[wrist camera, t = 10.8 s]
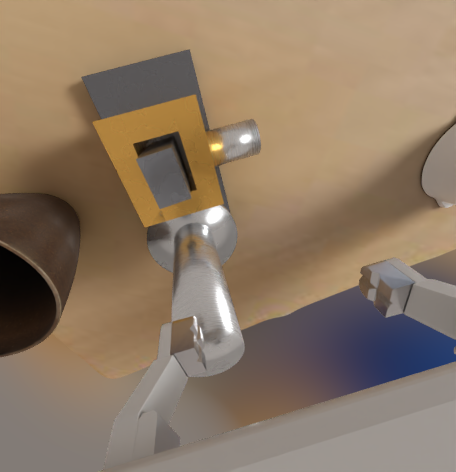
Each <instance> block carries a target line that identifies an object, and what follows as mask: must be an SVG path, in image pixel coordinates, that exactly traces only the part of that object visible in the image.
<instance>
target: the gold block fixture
mask: <svg viewBox="0 0 456 472" xmlns="http://www.w3.org/2000/svg"><path fill="white" fill-rule="evenodd" d="M82 79H83V82H84V84H85V86H86V88H87V90H88V92H89V94H90V96H91V98H92V101H93V103H94V105H95V107H96V109H97V111H98V113H99V115H100V117H101V120H98V121H94V122H92V123H93V125H94V127H95V129H96V131H97V133H98V135H99V137H100V139H101V141H102V143H103V145H104V147H105V149H106V151H107V153H108V155H109V157H110V159H111V161H112V163H113V165H114V167H115V169H116V171H117V173H118V175H119V177H120V179H121V181H122V183H123V185H124V187H125V189H126V191H127V193H128V195H129V197H130V199H131V201H132V203H133V205H134V207H135V209H136V211H137V213H138V215H139V217H140V219H141V221H142V223H143V225H144V227H148V226H149V228H148V232H147V244H148V248H149V251H150V253H151V255H152V257H153V258H154V259H155V261H156V262H157V263H158V264H159V265H160V266H162V267H163V268H164V269H166V270H168V271H170V272H172V273H173V291H172V322H173V321H176V320H180V319H184V318H187V317H191V316H195V317H196V319H197V325H198V326H200V328H201V330H202V333H203V338H204V346H205V347H204V349H203V352H204V354H205V359H206V371H205V372H202V373H199V374H196V375H193V376H191V377H206V376H211V375H215V374H218V373H221V372H223V371H225V370H227V369H229V368H231V367H232V366H234V365H235V364H236V363H237V362H238V361H239V360H240V359H241V357H242V355H243V353H244V350H245V345H244V341H243V337H242V334H241V330H240V327H239V323H238V320H237V317H236V313H235V310H234V306H233V303H232V299H231V296H230V293H229V289H228V286H227V282H226V279H225V275H224V272H223V269H222V265H223V264H224V263H225V262H226V261H227V260H228V259H229V258H230V256H231V255H232V253H233V251H234V249H235V246H236V243H237V228H236V225H235V222H234V220H233V218H232V216H231V214H230V210H229V206H228V202H227V198H226V194H225V190H224V186H223V182H222V178H221V174H220V170H219V165H222V164H226V163H229V162H232V161H236V160H239V159H243V158H246V157H250V156H253V155H257V154H259V153H260V149H261V142H260V135H259V131H258V127H257V125H256V122H255V121H254V120H253V119H249V120H246V121H242V122H238V123H235V124H231V125H228V126H224V127H220V128H217V129H213V130H209V126H208V122H207V118H206V114H205V110H204V106H203V102H202V98H201V94H200V90H199V86H198V81H197V77H196V73H195V69H194V65H193V61H192V57H191V53H190V49H189V50H185V51H181V52H178V53H174V54H170V55H166V56H162V57H158V58H154V59H150V60H146V61H142V62H138V63H134V64H130V65H127V66H123V67H119V68H115V69H111V70H107V71H103V72H99V73H95V74H91V75H87V76H83V77H82ZM171 136H174V137H175V140H176V142H177V145H178V148H179V150H180V153H181V156H182V158H183V161H184V164H185V166H186V169H187V174H188V180H189V186H190V192H191V199H188V200H185V201H182V202H179V203H177V204H174V205H171V206H168V207H165V208H162V209H160V208H159V206H158V204H157V202H156V200H155V198H154V196H153V194H152V192H151V190H150V188H149V186H148V184H147V182H146V180H145V178H144V175H143V173H142V171H141V169H140V167H139V165H138V163H137V161H136V158H137V157H138V156H139V155H140V154H141V153H142V152H143V151H144V150H145V149H146V148H147V147H148V146H149V145H150V144H151V143H153V142H156V141H159V140H162V139H165V138H168V137H171Z"/></svg>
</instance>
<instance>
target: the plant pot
mask: <svg viewBox="0 0 456 472" xmlns="http://www.w3.org/2000/svg"><path fill="white" fill-rule="evenodd" d="M79 249H80V224H79V218H78V216H77V214H76V212H75V211H74V209H73V208H72V207H71V206H70V205H69V204H67V203H66V202H65V201H63V200H61V199H59V198H57V197H55V196H51V195H46V194H34V193H12V194H0V357H4V356H9V355H13V354H16V353H20V352H22V351H25V350H28V349H30V348H32V347H34V346H35V345H38V344H39V343H41V342H42V341H44V340H45V339H46V338H47V337H48V336H49V335H50V334H51V333H52V332H53V331H54V329H55V328H56V327H57V325H58V323H59V320H60V317H61V315H62V312H63V310H64V307H65V304H66V301H67V299H68V296H69V293H70V290H71V287H72V283H73V279H74V276H75V272H76V267H77V262H78V256H79Z"/></svg>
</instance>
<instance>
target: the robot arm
mask: <svg viewBox="0 0 456 472" xmlns="http://www.w3.org/2000/svg"><path fill="white" fill-rule="evenodd" d="M422 186H423V189H424V191H425V193H426V194H427V195H429V196H431V197H433V198H435V199H436V201H437V203H438V205H439V206H440V207H444V208H448V207H450V206H452V205H456V124H455V125H453V126H452V127H451V128H450V129H449V130H448V131H447V132H446V133H445V134H444V135H443V136H442V137H441V138H440V140H439V141H438V142H437V143H436V145H435V146H434V148H433V149H432V151H431V152H430V154H429V156H428V158H427V160H426V163H425V165H424V169H423V173H422ZM360 273H361V274H362V275H363V276H362V277H361V278H360V280H359V287H360V290H361V292H362V293H363V295H364V296H365V297H366V298H367V299H369V300H371V301H374V306H375V307H376V308H377V309H378V310H379V312H380V313H381V314H382V315H383V316H384V317H390V316H394V315H397V314H401V313H404V314H405V315H407V316H409V317H411V318H413V319H415V320H418V321H419V322H421V323H423V324H425V325H427V326H429V327H431V328H433V329H435V330H437V331H439V332H441V333H443V334H445V335H447V336H449V337H451V338H453V339H455V340H456V286H454V285H451V284H447V283H444V282H440V281H437V280H434V279H429V280H428V279H426V278H425V277H423V276H422V275H420V274H419V273H418V272H416V271H415V270H413V269H412V268H411V267H409V266H408V265H406V264H405V263H403V262H402V261H401V260H399V259H397V258H390V259H387V260H384V261H380V262H376V263H373V264H370V265H366V266H363V267H362V268H361V272H360ZM204 347H205V346H204V338H203V333H202V330H201V328H200V326H198V325H197V319H196V317H195V316H191V317H187V318H184V319H180V320H176V321H173V322H169V323H165V324H162V326H161V330H160V338H159V347H158V355H157V360H154V361H153V362H152V364H151V365H150V367H149V369H148V370H147V372H146V373H145V375H144V376H143V378H142V379H141V381H140V382H139V384H138V385H137V387H136V389H135V390H134V391H133V393H132V395H131V396H130V398H129V399H128V401H127V402H126V404H125V405H124V407H123V408H122V410H121V411H120V413H119V414H118V416H117V417H116V419H115V420H114V424H113V429H112V433H111V437H110V441H109V446H108V450H107V454H106V459H105V463H104V467H103V470H102V471H98V472H456V362H453V363H450V364H446V365H443V366H440V367H437V368H433V369H430V370H427V371H423V372H420V373H417V374H414V375H411V376H407V377H404V378H401V379H397V380H394V381H391V382H388V383H385V384H381V385H378V386H375V387H372V388H368V389H365V390H362V391H358V392H355V393H352V394H349V395H345V396H342V397H339V398H336V399H332V400H329V401H326V402H323V403H319V404H316V405H313V406H309V407H306V408H303V409H300V410H297V411H294V412H290V413H287V414H283V415H280V416H277V417H274V418H270V419H268V420H264V421H261V422H258V423H254V424H251V425H248V426H245V427H242V428H238V429H235V430H232V431H228V432H225V433H222V434H219V435H215V436H212V437H209V438H206V439H202V440H199V441H196V442H193V443H189V444H186V445H183V446H180V437H179V435H178V434H177V433H176V432H175V431H174V430H173V429H172V428H171V427H170V426H169V423H170V420H171V418H172V416H173V414H174V411H175V409H176V406H177V404H178V402H179V399H180V397H181V394H182V392H183V389H184V387H185V385H186V382H187V380H188V377H190V376H193V375H196V374H199V373H202V372H205V371H206V359H205V354H204V352H203V349H204ZM454 353H455V354H456V347H455V348H454Z"/></svg>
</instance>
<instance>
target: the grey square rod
mask: <svg viewBox="0 0 456 472" xmlns="http://www.w3.org/2000/svg"><path fill="white" fill-rule="evenodd" d="M136 161H137V163H138V165H139V167H140V169H141V171H142V173H143V175H144V178H145V180H146V182H147V184H148V186H149V188H150V190H151V192H152V194H153V196H154V198H155V200H156V202H157V204H158V206H159V208H160V209H162V208H165V207H168V206H171V205H174V204H177V203H179V202H182V201H185V200H188V199H191V192H190V186H189V180H188V174H187V169H186V166H185V164H184V161H183V158H182V156H181V153H180V150H179V148H178V145H177V142H176V140H175V137H174V136H171V137H168V138H165V139H162V140H159V141H156V142H153V143H151V144H150V145H149V146H148V147H147V148H146V149H145V150H144V151H143V152H142V153H141V154H140V155H139V156H138V157H137V158H136Z"/></svg>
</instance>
